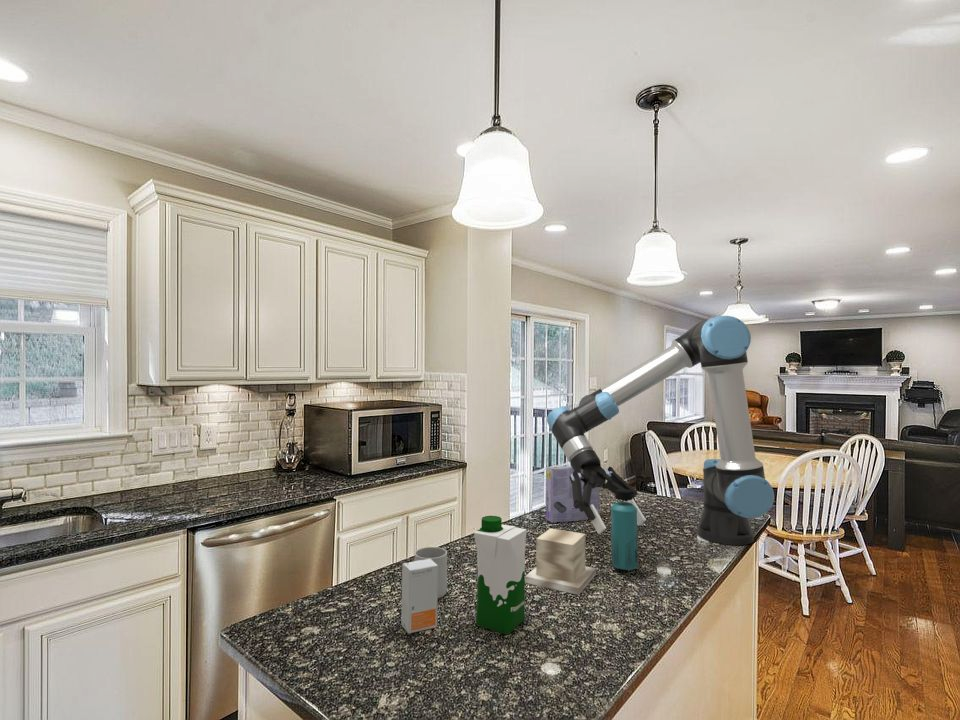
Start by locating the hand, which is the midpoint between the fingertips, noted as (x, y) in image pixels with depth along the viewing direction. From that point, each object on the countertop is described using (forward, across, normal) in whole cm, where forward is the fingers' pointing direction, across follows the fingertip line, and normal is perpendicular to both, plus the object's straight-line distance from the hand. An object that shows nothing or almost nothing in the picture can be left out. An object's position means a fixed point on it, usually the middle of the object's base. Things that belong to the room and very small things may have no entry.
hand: (622, 527), depth 126 cm
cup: (-1, +47, -17) cm, 50 cm away
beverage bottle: (+8, -1, -8) cm, 11 cm away
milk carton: (+12, +40, -4) cm, 42 cm away
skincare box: (+8, +54, -8) cm, 55 cm away
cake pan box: (-20, -19, -36) cm, 46 cm away
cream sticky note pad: (+5, +16, -11) cm, 20 cm away
